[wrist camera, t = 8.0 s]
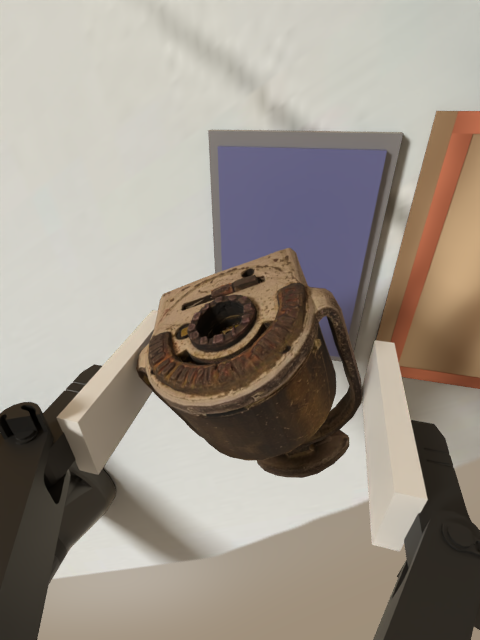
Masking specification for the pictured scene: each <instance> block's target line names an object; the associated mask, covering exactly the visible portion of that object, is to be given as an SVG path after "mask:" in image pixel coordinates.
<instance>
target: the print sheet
mask: <svg viewBox="0 0 480 640" xmlns="http://www.w3.org/2000/svg"><path fill="white" fill-rule="evenodd" d="M376 340H377V341H384V342H392V343H394V344H395V348H396V353H397V358H398V363H399V367H400V372H401V377H405V378H412V379H419V380H425V381H432V382H438V383H445V384H452V385H458V386H465V387H471V388H478V389H480V111H436V115H435V119H434V122H433V126H432V130H431V134H430V137H429V141H428V145H427V149H426V153H425V156H424V160H423V164H422V168H421V171H420V175H419V179H418V183H417V187H416V190H415V194H414V198H413V202H412V205H411V209H410V213H409V217H408V221H407V224H406V228H405V232H404V236H403V239H402V243H401V247H400V251H399V255H398V258H397V262H396V266H395V270H394V273H393V277H392V281H391V285H390V289H389V292H388V296H387V300H386V304H385V307H384V311H383V315H382V319H381V323H380V326H379V330H378V334H377V338H376Z"/></svg>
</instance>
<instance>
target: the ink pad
mask: <svg viewBox="0 0 480 640" xmlns="http://www.w3.org/2000/svg"><path fill="white" fill-rule="evenodd" d="M208 132H209V153H210V174H211V195H212V216H213V237H214V258H215V274H216V273H218V272H221V271H224V270H227V269H229V268H232V267H235V266H238V265H241V264H244V263H247V262H250V261H252V260H255V259H258V258H261V257H263V256H266V255H269V254H271V253H274V252H276V251H280V250H283V249H286V248H291V249H292V250H294V251H295V252H296V254H297V257H298V261H299V263H300V266H301V269H302V271H303V274H304V277H305V279H306V282H307V285H308V286H309V287H315V288H325V289H327V290H328V291H330V292H332V294H333V296H334V297H335V299H336V301H337V303H338V304H339V306H340V308H341V309H342V313H343V317H344V320H345V324H346V327H347V331H348V335H349V338H350V342H351V345H352V349H353V353H354V349H355V344H356V340H357V336H358V331H359V327H360V322H361V318H362V313H363V309H364V305H365V300H366V296H367V291H368V287H369V283H370V278H371V274H372V269H373V265H374V260H375V256H376V252H377V247H378V243H379V238H380V234H381V229H382V225H383V221H384V216H385V212H386V207H387V203H388V199H389V194H390V190H391V185H392V181H393V176H394V172H395V168H396V163H397V159H398V154H399V150H400V146H401V141H402V137H403V133H402V132H341V131H268V130H209V131H208ZM319 325H320V328H321V331H322V334H323V337H324V340H325V343H326V346H327V349H328V352H329V355H330V357H331V360H335V361H341V358H340V356H339V354H338V351H337V348H336V346H335V342H334V339H333V336H332V332H331V329H330V326H329V323H328V319H327V316H325V317H323V318H322V319H321V320H320V322H319Z"/></svg>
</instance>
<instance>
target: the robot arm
mask: <svg viewBox="0 0 480 640" xmlns="http://www.w3.org/2000/svg"><path fill="white" fill-rule="evenodd" d="M157 313H158V311H155V310H152V311H151V313H150V314H149V315H148V316H147V317H146V318H145V319H144V320H143V321H142V323H141V324H140V325H139V326H138V327H137V328H136V329H135V330H134V331H133V333H132V334H131V335H130V336H129V337H128V338H127V339H126V340H125V342H124V343H123V344H122V345H121V346H120V347H119V348H118V349H117V350H116V352H115V353H114V354H113V355H112V356H111V357H110V358H109V359H108V361H107V362H106V363H105V364H104V365H103V366H100V365H93V366H91V367H90V368H88V369H86V370H85V371H83V372H82V373H81V374H80V375H79V376H78V377H77V378H76V379H75V380H74V381H73V383H71V384H70V385H69V387H68V388H67V389H66V391H64V392H63V393H62V394H61V395H60V396H59V397H58V398H57V399H56V400H55V401H54V402H53V403H52V404H51V405H50V406H49V408H48V409H47V410H46V411H45V412H44V413H42V411H41V409H40V407H39V406H38V405H37V404H35V403H32V402H23V403H19V404H16V405H13V406H11V407H9V408H7V409H5V410H4V411H3V412H2V413H0V640H37V637H38V633H39V628H40V623H41V618H42V613H43V608H44V603H45V599H46V594H47V589H48V585H49V583H50V581H51V580H52V578H53V576H54V575H55V573H56V571H57V570H58V568H59V566H60V564H61V563H62V561H63V559H64V558H65V556H66V555H67V553H68V551H69V550H70V548H71V547H72V546H73V545H74V544H75V543H76V542H77V541H78V540H79V539H80V538H81V537H82V536H83V535H84V534H85V533H86V532H87V531H88V530H89V529H90V528H91V527H92V526H93V525H94V524H95V523H96V522H97V521H98V520H99V519H100V518H101V517H102V516H103V515H104V514H105V513H106V511H107V510H108V508H109V506H110V505H111V503H112V501H113V499H114V498H115V495H116V490H115V486H114V484H113V482H112V480H111V478H110V477H109V476H108V474H107V473H106V472H105V471H104V470H103V467H104V466H105V464H106V463H107V461H108V459H109V458H110V456H111V455H112V453H113V452H114V450H115V449H116V447H117V446H118V444H119V442H120V441H121V439H122V438H123V436H124V435H125V433H126V432H127V430H128V429H129V427H130V425H131V424H132V422H133V421H134V419H135V418H136V416H137V415H138V413H139V412H140V410H141V408H142V407H143V405H144V404H145V402H146V401H147V399H148V398H149V396H150V395H151V393H152V390H151V389H150V388H149V387H148V386H147V385H146V384H145V383H144V382H143V381H142V379H141V378H140V377H139V375H138V373H137V370H136V367H137V362H138V358H139V354H140V352H141V350H142V349H143V348H144V347H146V346H147V345H148V344H149V341H150V339H151V337H152V334H153V331H154V327H155V322H156V318H157ZM362 401H363V416H364V432H365V447H366V462H367V477H368V492H369V506H370V521H371V537H372V545H376V546H380V547H384V548H388V549H392V550H396V551H400V550H401V548H402V546H403V544H404V543H405V550H406V557H407V560H406V562H405V563H404V565H403V567H402V569H401V571H400V572H399V574H398V575H397V577H398V580H397V583H396V585H395V587H394V590H393V592H392V595H391V597H390V600H389V602H388V605H387V607H386V610H385V612H384V614H383V617H382V619H381V622H380V624H379V627H378V629H377V632H376V634H375V637H374V639H373V640H471V636H472V631H473V627H476V628H477V629H479V630H480V530H479V529H478V528H477V527H476V525H474V524H473V523H472V522H471V520H470V518H469V515H468V513H467V510H466V506H465V503H464V500H463V497H462V493H461V490H460V487H459V483H458V480H457V477H456V473H455V470H454V468H453V463H452V460H451V457H450V455H449V450H448V447H447V443H446V440H445V438H444V436H443V435H442V434H441V432H440V431H439V430H438V428H437V427H436V426H435V425H434V424H430V423H425V422H419V421H414V420H411V419H410V414H409V410H408V405H407V400H406V395H405V391H404V386H403V381H402V377H401V372H400V367H399V363H398V358H397V353H396V348H395V344H394V343H392V342H384V341H377V340H374V344H373V348H372V352H371V355H370V359H369V363H368V367H367V371H366V374H365V378H364V382H363V386H362Z"/></svg>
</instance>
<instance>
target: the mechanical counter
mask: <svg viewBox="0 0 480 640" xmlns="http://www.w3.org/2000/svg"><path fill="white" fill-rule="evenodd" d="M325 316H327V319H328V323H329V326H330V329H331V332H332V336H333V339H334V342H335V346H336V348H337V351H338V354H339V356H340V358H341V361H342V363H343V367H344V371H345V374H346V377H347V380H348V382H349V385H350V386H349V389H348V392H347V393H346V395H345V396H344V397H343V398H342V399H341V401H340V402H339V403H338V404H337V405H336V407H334V408H333V409H332V410H331V407H332V404H333V401H334V398H335V394H336V374H335V370H334V367H333V363H332V360H331V357H330V355H329V352H328V349H327V346H326V343H325V340H324V337H323V334H322V331H321V328H320V325H319V322H320V320H321V319H322V318H323V317H325ZM136 370H137V373H138V375H139V377H140V378H141V379H142V381H143V382H144V383H145V384H146V385H147V386H148V387H149V388H150V389H151V390H152V391H153V392H154V393H155V394H156V395H157V396H158V397H159V398H160V399H161V400H162V401H163V402H164V403H165V404H166V405H168V406H169V407H170V408H171V409H172V410H173V411H174V412H175V413H176V414H177V415H178V416H179V417H180V418H181V419H182V420H184V421H185V422H186V424H187V425H188V426H189V427H190V428H191V429H192V430H193V431H194V432H196V433H197V434H198V435H199V436H201V437H203V438H204V439H205V440H206V441H207V442H208V443H209V444H210V445H211V446H213V447H214V448H215V449H216V450H218V451H219V452H220V453H223V454H225V455H227V456H229V457H233V458H238V459H243V460H257V463H258V465H259V466H260V467H261V468H263V469H264V470H265V471H267V472H269V473H272V474H274V475H277V476H283V477H300V478H303V477H307V476H310V475H314V474H318V473H319V472H321V471H323V470H324V469H326V468H327V467H329V466H331V465H332V464H334V463H335V462H336V461H337V460H338V459H339V458H340V457H341V456H342V455H343V454H344V453H345V452H346V450H347V449H348V447H349V437H348V435H346V434H345V433H344V432H342V431H341V430H340V429H341V428H342V427H343V426H344V425H345V424H346V423H347V422H348V421H349V420H350V419H351V418H352V417H353V416H354V414H355V412H356V411H357V409H358V407H359V406H360V404H361V401H362V387H361V379H360V374H359V371H358V367H357V363H356V360H355V356H354V353H353V349H352V345H351V342H350V338H349V335H348V331H347V327H346V324H345V320H344V317H343V313H342V309H341V308H340V306H339V304H338V303H337V301H336V299H335V297H334V296H333V294H332V292H330V291H328V290H327V289H325V288H315V287H309V286H308V285H307V282H306V279H305V277H304V274H303V271H302V269H301V266H300V263H299V261H298V257H297V254H296V252H295V251H294V250H292V249H291V248H286V249H283V250H280V251H276V252H274V253H271V254H269V255H266V256H263V257H261V258H258V259H255V260H252V261H250V262H247V263H244V264H241V265H238V266H235V267H232V268H229V269H227V270H224V271H221V272H218V273H216V274H213V275H210V276H208V277H205V278H202V279H200V280H197V281H195V282H192V283H190V284H187V285H185V286H182V287H180V288H177V289H175V290H172V291H170V292H167V293H165V294H163V295H162V297H161V299H160V303H159V308H158V313H157V318H156V322H155V327H154V331H153V334H152V337H151V339H150V341H149V344H148V345H147V346H146V347H144V348H143V349H142V350H141V352H140V354H139V358H138V362H137V367H136ZM330 410H331V411H330Z"/></svg>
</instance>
